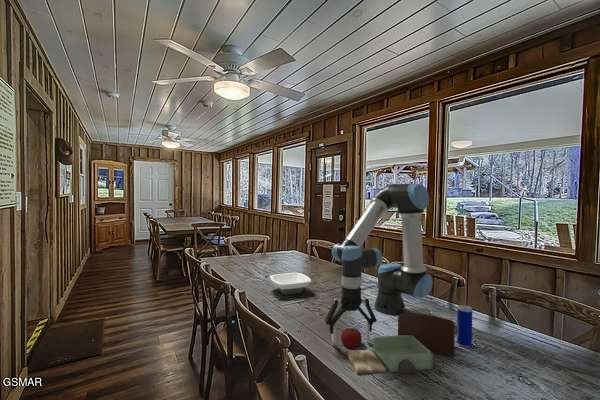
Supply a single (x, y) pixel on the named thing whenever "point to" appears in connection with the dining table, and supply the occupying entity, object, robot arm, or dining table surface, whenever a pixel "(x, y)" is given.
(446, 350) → the letter holder
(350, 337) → the tomato
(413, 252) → the robot arm
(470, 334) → the beverage can
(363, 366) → the panel
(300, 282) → the bowl
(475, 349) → the dining table surface
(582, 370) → the dining table surface
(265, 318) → the dining table surface
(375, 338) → the box
